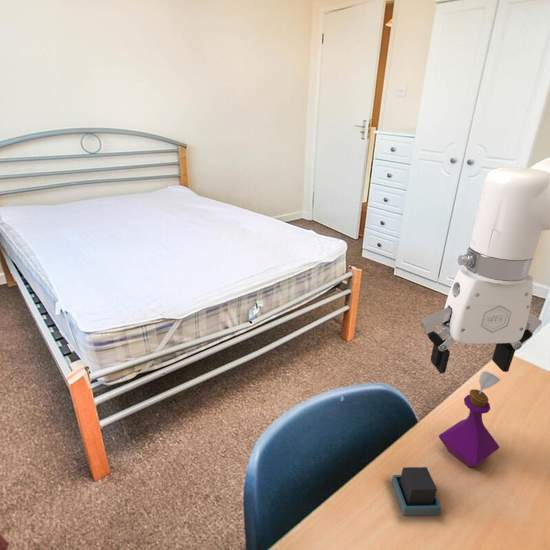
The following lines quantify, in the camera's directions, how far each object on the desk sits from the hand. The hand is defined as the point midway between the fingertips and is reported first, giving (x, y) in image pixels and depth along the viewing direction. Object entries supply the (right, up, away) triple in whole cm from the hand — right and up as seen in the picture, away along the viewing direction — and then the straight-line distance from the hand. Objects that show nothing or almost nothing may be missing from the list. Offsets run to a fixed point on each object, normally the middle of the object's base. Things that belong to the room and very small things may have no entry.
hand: (468, 366), depth 58 cm
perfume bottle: (+6, -19, +13) cm, 24 cm away
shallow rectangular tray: (-7, -23, +4) cm, 24 cm away
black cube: (-7, -22, +4) cm, 23 cm away
